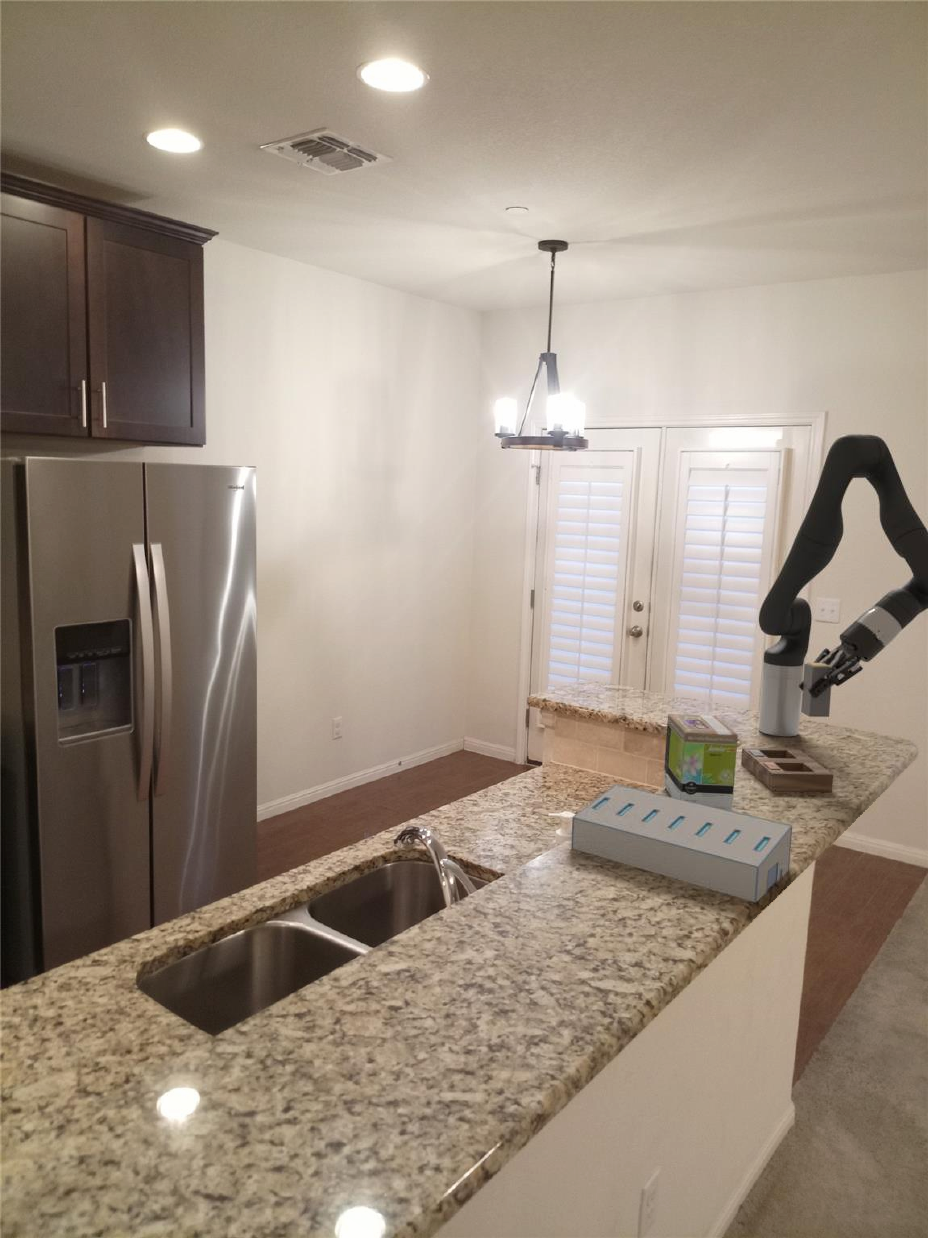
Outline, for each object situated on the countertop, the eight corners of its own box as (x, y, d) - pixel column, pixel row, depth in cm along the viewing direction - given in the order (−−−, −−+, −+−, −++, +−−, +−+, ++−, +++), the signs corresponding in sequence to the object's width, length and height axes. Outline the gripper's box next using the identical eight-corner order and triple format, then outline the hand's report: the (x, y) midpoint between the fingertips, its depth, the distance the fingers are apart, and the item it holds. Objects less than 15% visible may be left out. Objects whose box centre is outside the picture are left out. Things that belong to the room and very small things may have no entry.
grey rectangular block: (801, 712, 182) (804, 662, 181) (820, 712, 182) (824, 662, 181) (809, 716, 178) (812, 665, 177) (829, 716, 178) (832, 666, 177)
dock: (741, 763, 192) (742, 746, 192) (796, 764, 192) (797, 747, 192) (771, 791, 174) (772, 772, 174) (832, 792, 174) (833, 773, 174)
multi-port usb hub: (571, 851, 143) (572, 805, 142) (613, 826, 155) (615, 783, 154) (755, 905, 125) (759, 854, 124) (788, 873, 137) (792, 825, 136)
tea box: (734, 813, 161) (739, 733, 159) (678, 811, 162) (683, 732, 160) (712, 786, 176) (717, 713, 174) (661, 785, 176) (665, 712, 174)
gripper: (842, 615, 185) (780, 672, 186) (876, 625, 171) (809, 686, 172) (865, 641, 186) (804, 697, 187) (900, 652, 172) (834, 713, 173)
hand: (806, 692), depth 180 cm, fingers closed on grey rectangular block, 4 cm apart
